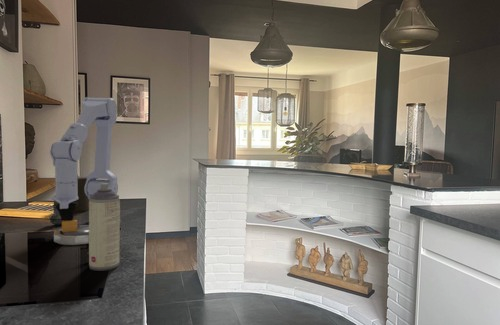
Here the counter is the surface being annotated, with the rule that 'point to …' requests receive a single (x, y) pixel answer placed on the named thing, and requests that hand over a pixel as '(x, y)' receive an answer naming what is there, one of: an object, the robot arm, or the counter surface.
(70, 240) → the dial plate
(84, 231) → the dial
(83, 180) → the pillar candle
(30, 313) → the counter surface
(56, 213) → the grey chess piece
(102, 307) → the counter surface
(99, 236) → the aerosol can
